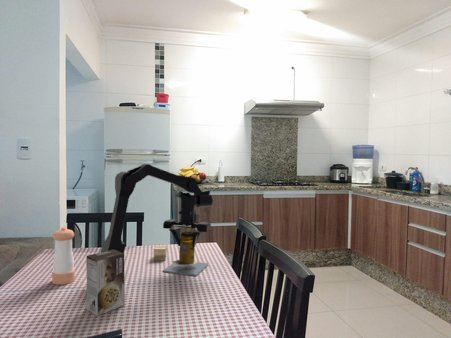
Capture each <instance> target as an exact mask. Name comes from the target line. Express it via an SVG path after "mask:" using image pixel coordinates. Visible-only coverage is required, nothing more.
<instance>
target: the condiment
mask: <svg viewBox="0 0 451 338" xmlns="http://www.w3.org/2000/svg"><path fill="white" fill-rule="evenodd" d="M193 232H194V231H183V232H180V246H179V258H178V259H177V260H173V261H171V264H173V263H174V264H177V265H179V266H186V265H191V264H194V263H198V262H199V261H197V260H195V249H196V246H195V247H194V248H193Z"/></svg>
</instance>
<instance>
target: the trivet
mask: <svg viewBox="0 0 451 338" xmlns="http://www.w3.org/2000/svg"><path fill="white" fill-rule="evenodd" d="M197 262H198V263H194V264H191V265H186V266H179V265H177V264H174V263H171V264H170V265H169V266H167V267H166V268H164V269H162V272H163V273H169V274H176V275H177V274H178V275H184V276H190V277H191V276H192V277H197V276H198V275H200V274H201V273H202V272H203V271H204V270H203V269H204V268H205V267H206V266H207V267H208V266H209V265H208V264H210V263H209V262H208V263H207V262H199V261H197ZM207 267H206V268H207ZM206 268H205V269H206Z"/></svg>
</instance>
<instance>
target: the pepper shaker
mask: <svg viewBox="0 0 451 338" xmlns="http://www.w3.org/2000/svg"><path fill="white" fill-rule="evenodd" d="M74 237H75V232H74V231H73V230H72V229H69V228H66V227H61V228H60V229H57V230H55V231H54V232H53V234H52V238H53V240H54V254H53V255H54V256H53V261H52V265H53V266H52V268H53V271H52V274H51V278H52V279H51V282H52V284H53V285H67V284H71V283H73V282H74V281H75V280H76V276H75V275H76V272H75V271H76V269H75V268H74V267H75V265H74V264H75V262H74V261H75V259H74V253H73V239H74Z"/></svg>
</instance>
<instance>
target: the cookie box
mask: <svg viewBox="0 0 451 338" xmlns="http://www.w3.org/2000/svg"><path fill="white" fill-rule="evenodd" d="M125 288H126V287H125V252H124V253H121V252H119V251H117V250H109V251H104V252H101V251H99V252H97V253H93V254H89V255H88V254H87V255H86V310H88V311H89V312H90V313H93V314H94V315H95V316H101V315H103V314H106V313H108V312H110V311H113V310H116V309H119V308H121V307H123V306H125V300H126V299H125V295H126V294H125Z"/></svg>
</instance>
